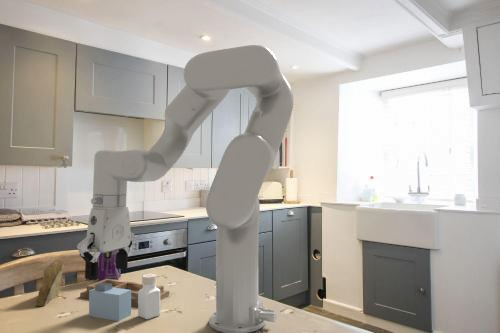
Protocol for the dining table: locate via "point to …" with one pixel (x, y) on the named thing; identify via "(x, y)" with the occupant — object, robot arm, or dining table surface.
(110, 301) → the light blue block
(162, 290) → the frame
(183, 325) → the dining table surface
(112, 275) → the beverage can
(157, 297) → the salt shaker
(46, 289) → the rock
